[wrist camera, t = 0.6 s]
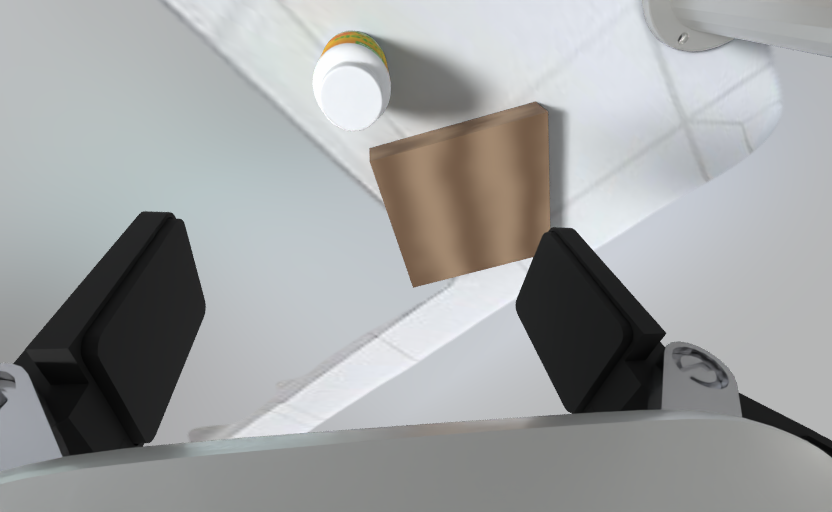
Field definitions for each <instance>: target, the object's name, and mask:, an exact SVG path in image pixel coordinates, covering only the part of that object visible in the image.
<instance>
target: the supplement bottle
mask: <svg viewBox="0 0 832 512" xmlns="http://www.w3.org/2000/svg"><path fill="white" fill-rule="evenodd" d="M313 90H314V95H315V98H316V100H317V103H318V105H319V106H320V108H321V109H322V111H323V112H324V114H325V116H326V117H327V118H328V120H329V121H330V122H331V123H333V124H334V125H335V126H337V127H339V128H341V129H344V130H347V131H360V130H363V129H366V128H368V127H369V126H371V125H372V124H373V123H374V122H375V121H376V120H377V119H378V118H379V117H380V116H381V115H382V114H383V113H384V111H385V110H386V108H387V106H388V103H389V100H390V96H391V81H390V76H389V71H388V66H387V61H386V58H385V55H384V53H383V51H382V49H381V47H380V46H379V44H378V43H377V42H376V41H375V40H374V39H373V38H371V37H370V36H368V35H367V34H364V33H362V32H359V31H345V32H342V33H339V34H337V35H336V36H334V37H333V38H332V39H331V40H330V41H329V42H328V44H327V45H326V47H325V49H324V51H323V53H322V55H321V57H320V59H319V60H318V63H317V65H316V67H315V70H314V75H313Z"/></svg>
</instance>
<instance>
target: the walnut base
mask: <svg viewBox="0 0 832 512" xmlns="http://www.w3.org/2000/svg"><path fill="white" fill-rule="evenodd" d="M369 149H370V163H371V166H372V169H373V172H374V175H375V178H376V181H377V184H378V187H379V190H380V192H381V195H382V198H383V201H384V204H385V207H386V210H387V213H388V216H389V219H390V222H391V224H392V227H393V230H394V233H395V236H396V239H397V242H398V244H399V248H400V251H401V253H402V256H403V259H404V262H405V265H406V268H407V271H408V274H409V276H410V280H411V283H412V286H413V287H417V286H421V285H425V284H429V283H433V282H437V281H441V280H445V279H449V278H453V277H457V276H460V275H464V274H468V273H472V272H476V271H480V270H484V269H488V268H492V267H496V266H500V265H504V264H508V263H511V262H515V261H519V260H523V259H527V258H531V257H534V255H535V252H536V250H537V247H538V245H539V242H540V240H541V237H542V236H543V234H544V233H546V232H548V231H549V230H550V190H549V136H548V111H547V110H545V109H544V108H543V107H542V106H540V105H539V104H538V103H537V102H533V103H529V104H526V105H522V106H519V107H515V108H511V109H508V110H504V111H501V112H497V113H494V114H490V115H487V116H483V117H479V118H476V119H472V120H469V121H465V122H462V123H458V124H455V125H451V126H447V127H444V128H440V129H437V130H433V131H430V132H426V133H423V134H419V135H415V136H412V137H408V138H405V139H401V140H398V141H394V142H391V143H387V144H383V145H380V146H376V147H373V148H369Z"/></svg>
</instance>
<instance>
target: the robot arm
mask: <svg viewBox="0 0 832 512" xmlns="http://www.w3.org/2000/svg"><path fill="white" fill-rule="evenodd" d="M642 6H643V11H644V16H645V20H646V22H647V24H648V26H649V29H650V31H651V32H652V33H653V34H654V36H655V37H656V38H657V39H658V40H659V41H661V42H662V43H664V44H665V45H667V46H669V47H672V48H675V49H678V50H684V51H690V52H693V51H705V50H708V49H712V48H715V47H719V46H721V45H723V44H725V43H727V42H729V41H731V40H733V39H735V38H737V39H742V40H747V41H752V42H757V43H762V44H767V45H772V46H777V47H782V48H787V49H792V50H797V51H802V52H807V53H812V54H817V55H822V56H827V57H832V0H642ZM205 307H206V306H205V300H204V295H203V292H202V288H201V284H200V280H199V277H198V273H197V269H196V265H195V261H194V258H193V254H192V250H191V246H190V242H189V239H188V235H187V231H186V227H185V224H184V222H183V220H182V219H176V218H175V216H174V215H173V213H170V212H141V213H140V214H139V215H138V216H137V217H136V219H135V220H134V221H133V222H132V223H131V225H130V226H129V227H128V228H127V229H126V231H125V232H124V233H123V234H122V235H121V236H120V238H119V239H118V240H117V241H116V242H115V244H114V245H113V246H112V247H111V248H110V249H109V251H108V252H107V253H106V254H105V255H104V257H103V258H102V259H101V260H100V261H99V262H98V264H97V265H96V266H95V267H94V268H93V270H92V271H91V272H90V273H89V274H88V275H87V277H86V278H85V279H84V280H83V281H82V283H81V284H80V285H79V286H78V288H77V289H76V290H75V291H74V292H73V293H72V294H71V296H70V297H69V298H68V299H67V301H66V302H65V303H64V304H63V305H62V306H61V308H60V309H59V310H58V311H57V312H56V314H55V315H54V316H53V317H52V318H51V319H50V320H49V322H48V323H47V324H46V325H45V326H44V328H43V329H42V330H41V331H40V332H39V333H38V335H37V336H36V337H35V338H34V339H33V341H32V342H31V343H30V344H29V345H28V346H27V348H26V349H25V351H24V352H23V353H22V354H21V355H20V356H19V358H18V359H17V360H16V361H15V362H14V364H12V363H0V512H832V441H831V440H830V439H828V438H826V437H823V436H821V435H820V434H818V433H817V432H815V431H813V430H811V429H809V428H807V427H805V426H803V425H801V424H799V423H797V422H795V421H793V420H791V419H789V418H787V417H785V416H784V415H782V414H780V413H778V412H776V411H774V410H772V409H770V408H768V407H766V406H764V405H762V404H760V403H758V402H756V401H754V400H752V399H750V398H748V397H746V396H744V395H742V394H740V393H738V387H737V382H736V380H735V377H734V376H733V374H732V372H731V371H730V370H729V368H728V367H727V366H726V365H725V364H724V363H722V361H720V360H719V359H718V358H717V357H715V356H714V355H712V354H711V353H710V352H708V351H706V350H704V349H702V348H700V347H698V346H695V345H693V344H689V343H685V342H672V343H670V344H668V345H667V346H666V347H664V346H663V345H662V343H661V342H660V341H661V340H662V338H663V337H664V336H665V334H666V332H665V331H664V330H663V329H662V328H661V327H660V325H659V324H658V323H657V322H656V321H655V320H654V319H653V318H652V316H651V315H650V314H649V313H648V312H647V311H646V310H645V309H644V308H643V306H642V305H641V304H640V303H639V302H638V301H637V300H636V299H635V298H634V296H633V295H632V294H631V293H630V292H629V291H628V289H627V288H626V287H625V286H624V285H623V284H622V283H621V281H620V280H619V279H618V278H617V277H616V276H615V275H614V274H613V273H612V271H611V270H610V269H609V268H608V267H607V266H606V265H605V263H604V262H603V261H602V260H601V259H600V258H599V257H598V256H597V254H596V253H595V252H594V251H593V250H592V249H591V248H590V247H589V245H588V244H587V243H586V242H585V241H584V240H583V239H582V238H581V236H580V235H579V234H578V233H577V232H576V231H575V230H574V229H573V228H556V227H553V228H551V229H550V230H549V231H548V232H546V233H544V234H543V236H542V237H541V240H540V242H539V245H538V247H537V250H536V252H535V255H534V257H533V260H532V262H531V265H530V267H529V270H528V272H527V275H526V277H525V280H524V282H523V285H522V287H521V290H520V292H519V295H518V297H517V300H516V311H517V314H518V316H519V318H520V320H521V322H522V324H523V326H524V328H525V330H526V332H527V334H528V336H529V338H530V340H531V342H532V344H533V345H534V348H535V350H536V351H537V354H538V356H539V357H540V360H541V361H542V363H543V366H544V367H545V370H546V371H547V373H548V375H549V377H550V379H551V381H552V383H553V385H554V387H555V389H556V391H557V393H558V395H559V397H560V399H561V401H562V403H563V405H564V407H565V409H566V410H567V411H568V412H570V413H572V414H566V415H565V414H564V415H549V416H534V417H520V418H505V419H490V420H476V421H462V422H448V423H435V424H434V423H433V424H420V425H406V426H394V427H393V426H392V427H379V428H365V429H351V430H339V431H325V432H313V433H299V434H286V435H273V436H260V437H248V438H235V439H222V440H211V441H200V442H189V443H179V444H169V445H158V446H146V447H143V445H144V443H150V442H151V441H152V440H153V439H154V437H155V435H156V433H157V430H158V428H159V425H160V423H161V421H162V418H163V416H164V413H165V411H166V408H167V406H168V403H169V401H170V399H171V396H172V393H173V391H174V389H175V386H176V384H177V381H178V379H179V377H180V374H181V371H182V369H183V367H184V364H185V362H186V359H187V357H188V354H189V352H190V350H191V347H192V345H193V342H194V340H195V337H196V335H197V332H198V330H199V327H200V325H201V322H202V320H203V317H204V315H205Z"/></svg>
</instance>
